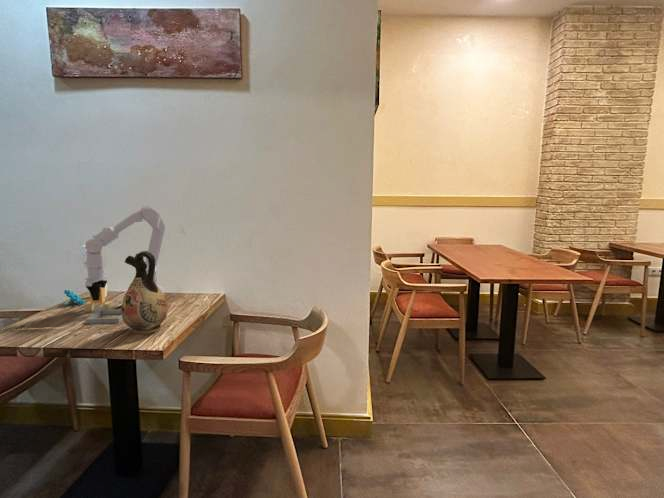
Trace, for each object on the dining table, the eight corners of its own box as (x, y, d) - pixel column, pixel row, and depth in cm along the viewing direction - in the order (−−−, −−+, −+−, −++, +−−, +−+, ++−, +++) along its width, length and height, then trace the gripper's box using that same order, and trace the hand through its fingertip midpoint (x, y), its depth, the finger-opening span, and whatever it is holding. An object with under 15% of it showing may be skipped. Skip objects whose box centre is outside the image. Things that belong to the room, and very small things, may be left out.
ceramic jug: (112, 334, 144) (106, 251, 140) (146, 321, 158) (142, 246, 154) (149, 341, 138) (143, 254, 134) (181, 327, 152) (177, 248, 148)
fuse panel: (118, 307, 176) (117, 299, 175) (108, 314, 166) (108, 306, 166) (89, 308, 175) (88, 300, 174) (77, 315, 165) (77, 306, 164)
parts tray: (130, 315, 166) (130, 309, 166) (119, 324, 154) (118, 318, 154) (100, 315, 165) (99, 310, 164) (85, 325, 153) (85, 319, 153)
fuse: (105, 301, 171) (104, 286, 171) (102, 303, 169) (101, 288, 168) (94, 301, 171) (92, 286, 170) (90, 303, 168) (89, 288, 167)
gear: (83, 304, 175) (63, 289, 173) (73, 315, 174) (52, 300, 171) (88, 301, 186) (70, 287, 183) (78, 311, 184) (59, 297, 181)
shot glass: (88, 298, 191) (87, 284, 190) (98, 294, 198) (97, 280, 197) (101, 299, 190) (100, 284, 189) (111, 295, 196) (110, 281, 195)
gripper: (93, 264, 174) (95, 294, 176) (76, 271, 160) (79, 304, 162) (110, 264, 175) (112, 294, 177) (95, 270, 161) (97, 303, 163)
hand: (97, 299), depth 170 cm, fingers closed on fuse, 3 cm apart
